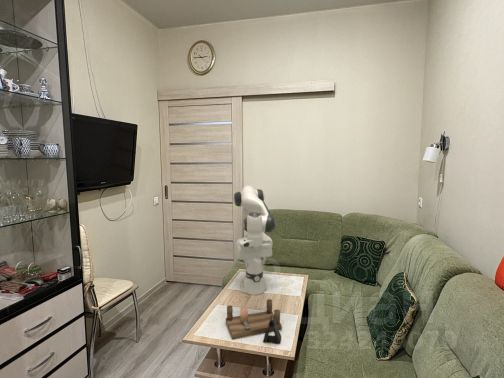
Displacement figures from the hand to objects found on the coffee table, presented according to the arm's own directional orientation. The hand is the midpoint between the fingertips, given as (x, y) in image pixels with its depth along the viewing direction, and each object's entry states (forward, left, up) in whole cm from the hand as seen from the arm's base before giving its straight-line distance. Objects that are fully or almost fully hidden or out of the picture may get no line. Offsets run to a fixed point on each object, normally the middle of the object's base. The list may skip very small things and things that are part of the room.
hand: (254, 265), depth 172 cm
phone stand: (+19, +3, -34) cm, 39 cm away
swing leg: (+7, -8, -31) cm, 32 cm away
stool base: (+5, -3, -34) cm, 34 cm away
